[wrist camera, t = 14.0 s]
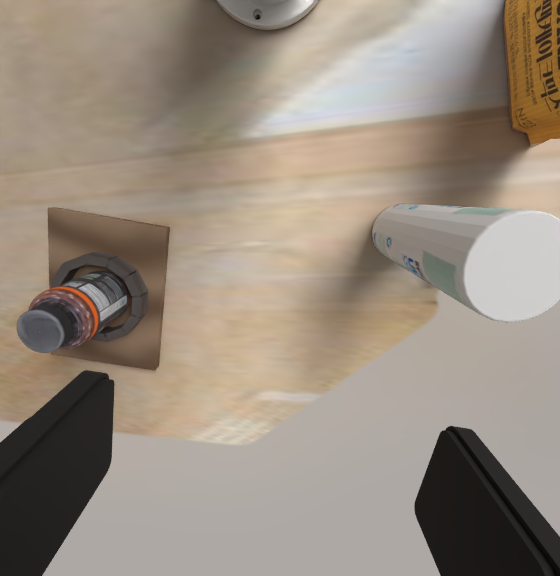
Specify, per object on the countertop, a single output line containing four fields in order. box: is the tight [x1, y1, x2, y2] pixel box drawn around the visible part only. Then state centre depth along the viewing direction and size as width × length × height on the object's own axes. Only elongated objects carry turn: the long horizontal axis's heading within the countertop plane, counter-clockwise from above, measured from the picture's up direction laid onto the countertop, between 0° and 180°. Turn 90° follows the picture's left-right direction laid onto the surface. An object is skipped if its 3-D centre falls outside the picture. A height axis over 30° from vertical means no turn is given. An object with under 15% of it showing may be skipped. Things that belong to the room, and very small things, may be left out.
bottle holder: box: [48, 208, 170, 370], centre depth 38 cm, size 18×13×3 cm
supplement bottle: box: [17, 271, 130, 353], centre depth 33 cm, size 6×6×11 cm
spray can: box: [372, 204, 560, 322], centre depth 28 cm, size 6×6×20 cm
